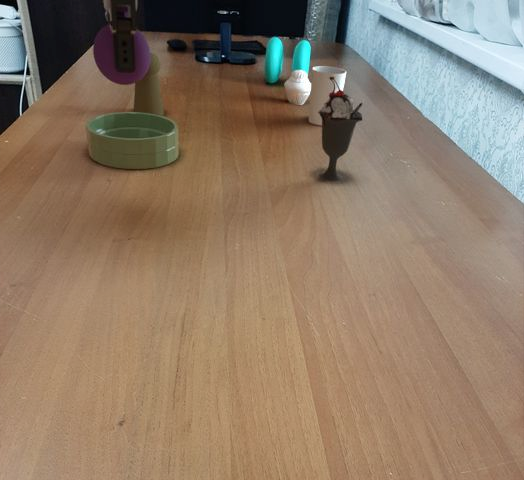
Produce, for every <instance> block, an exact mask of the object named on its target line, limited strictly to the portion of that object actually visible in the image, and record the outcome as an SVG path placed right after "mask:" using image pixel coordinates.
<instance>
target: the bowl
mask: <svg viewBox="0 0 524 480" xmlns="http://www.w3.org/2000/svg"><path fill="white" fill-rule="evenodd" d="M85 131H86V141H87V149H88V150H87V151H88V156H89V157H90V159H92V161H94V162H96V163H98V164H100V165H103V166H106V167H110V168H116V169H124V170H147V169H153V168H154V169H155V168H160V167H164V166H167V165H169V164H171V163H173V162H175V161H176V160H177V159H178V157H179V156H180V154H179V153H180V152H179V150H180V149H179V126H178V123H177V122H175V121H174V120H173V119H171V118H169V117H167V116H164V115H163V116H160V115H155V114H149V113H141V112H133V111H119V112H111V113H105V114H100V115H97V116H94V117H91V118H90V119H88V121H86V124H85Z"/></svg>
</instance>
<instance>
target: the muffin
mask: <svg viewBox="0 0 524 480" xmlns="http://www.w3.org/2000/svg"><path fill="white" fill-rule="evenodd" d="M283 88H284V91H285V95H286V97H287V100H288V103H289V104H292V105H295V106H303V105H305V103H306V101H307V100H308V98H309V97H310V94H311V81H310V80H309V78H308V76H307V73H306V72H305V71H303V70H300V69H299V70H295V71H293V72H292V71H291V73H290V76H289V78H288V79H287V80H286V81H285V82H284V84H283Z"/></svg>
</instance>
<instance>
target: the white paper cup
mask: <svg viewBox="0 0 524 480" xmlns="http://www.w3.org/2000/svg"><path fill="white" fill-rule="evenodd" d="M346 75H347V70H345V69H343V68H340V67H336V66H328V65H318V66H313V67H312V69H311V81H310V83H311V92H310V95H309V107H308V109H309V110H308V122H309V123H310V124H312V125H316V126H321V127H322V118H321V116H320V114H319V113H318V112H319V111H320V110H322V107H323V106H324V103H325V102H327V101H328V100H329V99H330V98H329V94H330V93H332V92H333V90H334V83H335V91H334V92H335V93H336V92H337V91H339V89H340V90H342V91H343V92H344V86H345V81H346ZM330 77H334V80H335V81H336V82H337V84H338V86H339V89H338V87H337V85H336V82H335V81H334V80H333V79H332V80H333V82H334V83H333V82H332V81H331V80H330Z"/></svg>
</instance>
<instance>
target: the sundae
mask: <svg viewBox="0 0 524 480" xmlns="http://www.w3.org/2000/svg"><path fill="white" fill-rule="evenodd" d="M332 79H333V80H334V77H330V80H331V81H332V82H333V80H332ZM334 81H335V80H334ZM335 82H336V81H335ZM333 83H334V82H333ZM336 85H337V87H338V89H339V86H338V84H337V82H336ZM334 91H335V83H334V90H333V92H332V93H330V94H329V98H330V99H329V100H328V101H327V102H325V103H324V106H323V107H322V110H320V111H319V112H318V113H319V114H320V116H321V118H322V126H321V146H322V150H323V152H324V154H326V155H327V156H328V158H329V160H328V166H327V169H326V170H325V171H324V172H321V173H319V174H318V176H319V178H321V179H322V180H324V181H328V182H339V181H342V180H343V177H342V176H341V174H339V173H338V172H337V163H338V159H339V158H340V157H343V156H344V155H345V154H346V153H347V152H348V150H349V147H350V145H351V142H352V138H353V135H354V131H355V128H356V126H357V123H358V122H362V121H363V115H362V113H361V112H359V110H360V109H361V108H362V106H363V102H360V103H359V104H358V105H357V107H355V106H354V100H353V99H352V97H350V95H348V94H346V93H345V92H344V90H343V91H342V90H340V89H339V91H337V92H336V93H335V92H334ZM354 107H355V108H354Z"/></svg>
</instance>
